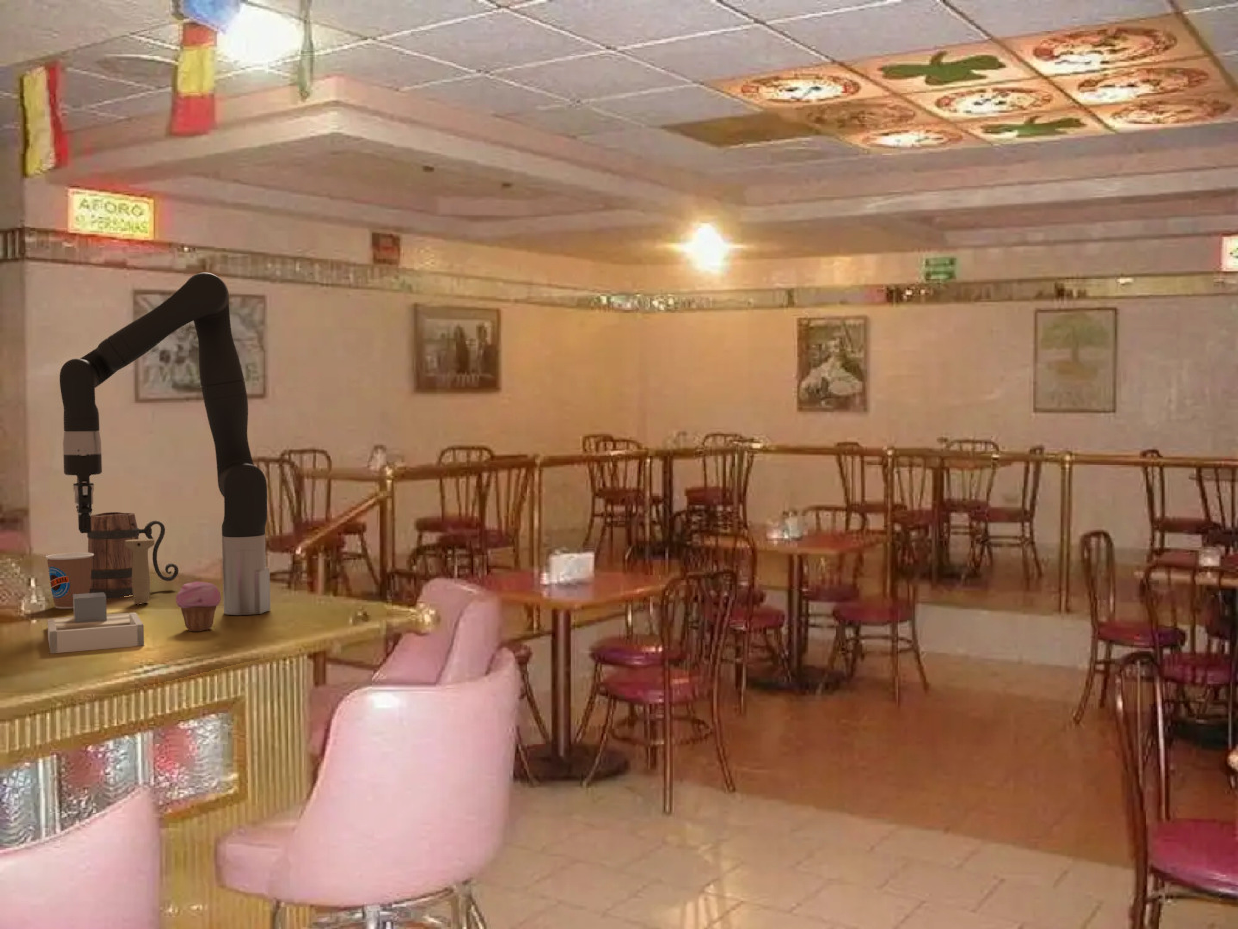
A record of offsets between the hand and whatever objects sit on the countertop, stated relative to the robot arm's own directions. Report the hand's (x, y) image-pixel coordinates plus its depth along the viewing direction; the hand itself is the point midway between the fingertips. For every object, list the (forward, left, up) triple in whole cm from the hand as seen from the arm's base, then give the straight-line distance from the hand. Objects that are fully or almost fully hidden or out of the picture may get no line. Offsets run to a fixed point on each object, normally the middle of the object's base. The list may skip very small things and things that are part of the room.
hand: (84, 531), depth 273 cm
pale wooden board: (-7, +11, -19) cm, 23 cm away
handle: (0, -24, -20) cm, 31 cm away
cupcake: (-29, +10, -20) cm, 37 cm away
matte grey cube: (-6, +10, -17) cm, 21 cm away
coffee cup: (+15, -20, -20) cm, 31 cm away
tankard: (+12, -42, -20) cm, 48 cm away
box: (-14, +24, -19) cm, 34 cm away
